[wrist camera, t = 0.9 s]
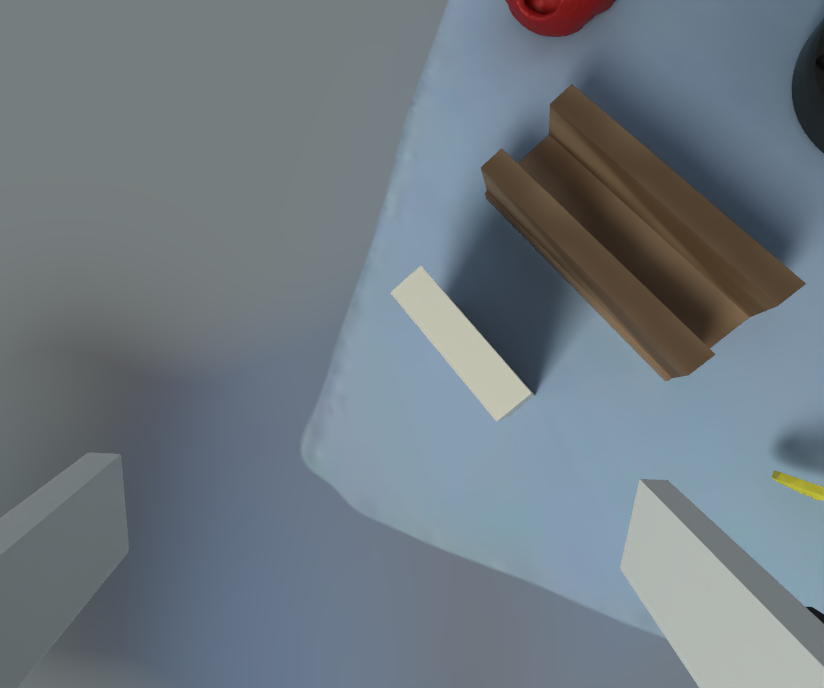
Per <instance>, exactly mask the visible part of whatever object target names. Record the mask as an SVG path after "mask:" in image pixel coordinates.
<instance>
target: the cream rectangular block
mask: <svg viewBox="0 0 824 688" xmlns="http://www.w3.org/2000/svg"><path fill="white" fill-rule="evenodd" d="M391 294H392V295H393V297H394V298H395V299H396V300H397V301H398V303H399V304H400V305H401V306H402V308H403V309H404V310H405V311H406V312H407V314H408V315H409V316H410V317H411V318H412V320H413V321H414V322H415V323H416V324H417V326H418V327H419V328H420V329H421V330H422V332H423V333H424V334H425V335H426V337H427V338H428V339H429V340H430V341H431V343H432V344H433V345H434V346H435V347H436V349H437V350H438V351H439V352H440V353H441V355H442V356H443V357H444V358H445V360H446V361H447V362H448V363H449V364H450V366H451V367H452V368H453V369H454V370H455V372H456V373H457V374H458V375H459V376H460V378H461V379H462V380H463V381H464V383H465V384H466V385H467V386H468V387H469V389H470V390H471V391H472V392H473V393H474V395H475V396H476V397H477V398H478V399H479V401H480V402H481V403H482V404H483V405H484V407H485V408H486V409H487V410H488V412H489V413H490V414H491V415H492V416H493V418H494V419H495V420H496V421H499V420H502V419H504V418H506V417H509V416H511V415H512V414H513V413H514V412H515V411H517V410H518V409H519V408H520V407H522V406H523V405H524V404H525V403H527V402H528V401H529V400H530V399H531V398H533V397H534V396H535V395H534V394H533V392H532V391H531V390H530V389H529V388H528V387H527V386H526V384H525V383H524V382H523V381H522V380H521V379H520V378H519V376H518V375H517V374H516V373H515V372H514V371H513V370H512V368H511V367H510V366H509V365H508V364H507V363H506V361H505V360H504V359H503V358H502V357H501V356H500V355H499V353H498V352H497V351H496V350H495V349H494V348H493V347H492V345H491V344H490V343H489V342H488V341H487V340H486V339H485V337H484V336H483V335H482V334H481V333H480V332H479V331H478V329H477V328H476V327H475V326H474V325H473V324H472V322H471V321H470V320H469V319H468V318H467V317H466V316H465V314H464V313H463V312H462V311H461V310H460V309H459V308H458V306H457V305H456V304H455V303H454V302H453V301H452V300H451V299H450V297H449V296H448V295H447V294H446V293H445V292H444V291H443V290H442V289H441V287H440V286H439V285H438V284H437V283H436V282H435V281H434V280H433V279H432V277H431V276H430V275H429V274H428V273H427V272H426V271H425V270H424V269H423V267H422V266H420V267H418V268H417V269H416V270H415V271H414V272H413V273H412V274H411V275H410V276H409V277H407V278H406V279H405V280H404V281H403V282H402V283H401V284H400V285H399V286H397V287H396V288H395V289H394V290H393V291H392V292H391Z"/></svg>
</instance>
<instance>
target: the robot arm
mask: <svg viewBox="0 0 824 688" xmlns="http://www.w3.org/2000/svg"><path fill="white" fill-rule="evenodd" d="M792 98H793V104H794V109H795V112H796V115H797V118H798V120H799V122H800V124H801V126H802V128H803V130H804V131H805V133H806V134H807V136H808V137H809V138H810V140H811V141H812V142H813V143H814V144H815V145H816V146H817V147H818V148H819V149H820V150H821V151H822V152H823V153H824V19H823V20H822V22H821V23H820V24H819V26H818V27H817V28H816V30H815V31H814V32H813V34H812V35H811V37H810V38H809V39H808V41H807V42H806V44H805V46H804V47H803V49H802V51H801V53H800V55H799V58H798V60H797V63H796V66H795V70H794V74H793V81H792ZM128 551H129V545H128V533H127V522H126V510H125V498H124V487H123V475H122V464H121V455H120V454H106V453H87V454H86V455H84V456H83V457H82V458H80V459H79V460H78V461H76V462H75V463H74V464H72V465H71V466H70V467H68V468H67V469H66V470H64V471H63V472H62V473H60V474H59V475H58V476H56V477H55V478H54V479H52V480H51V481H49V482H48V483H47V484H45V485H44V486H43V487H41V488H40V489H39V490H37V491H36V492H35V493H33V494H32V495H31V496H29V497H28V498H27V499H25V500H24V501H23V502H21V503H20V504H19V505H17V506H16V507H14V508H13V509H12V510H10V511H9V512H8V513H6V514H5V515H4V516H2V517H1V518H0V688H18V687H19V686H20V685H21V683H22V682H23V681H24V680H25V678H26V677H27V676H28V675H29V674H30V672H31V671H32V670H33V669H34V667H35V666H36V665H37V664H38V662H39V661H40V660H41V659H42V658H43V656H44V655H45V654H46V653H47V651H48V650H49V649H50V648H51V646H52V645H53V644H54V643H55V641H56V640H57V639H58V638H59V637H60V635H61V634H62V633H63V632H64V630H65V629H66V628H67V627H68V625H69V624H70V623H71V622H72V620H73V619H74V618H75V617H76V616H77V614H78V613H79V612H80V611H81V609H82V608H83V607H84V605H85V604H86V603H87V602H88V601H89V600H90V598H91V597H92V596H93V595H94V593H95V592H96V591H97V590H98V588H99V587H100V586H101V585H102V584H103V582H104V581H105V580H106V579H107V577H108V576H109V575H110V574H111V572H112V571H113V570H114V568H115V567H116V566H117V565H118V564H119V562H120V561H121V560H122V559H123V558H124V556H125V555H126V554H127V553H128ZM620 569H621V571H622V572H623V574H624V575H625V577H626V578H627V580H628V581H629V583H630V584H631V586H632V587H633V589H634V590H635V592H636V593H637V595H638V596H639V598H640V599H641V601H642V602H643V604H644V605H645V607H646V608H647V610H648V611H649V613H650V614H651V616H652V617H653V619H654V620H655V622H656V623H657V625H658V626H659V628H660V629H661V631H662V632H663V634H664V635H665V637H666V638H667V640H668V641H669V643H670V644H671V646H672V647H673V649H674V650H675V652H676V653H677V655H678V656H679V658H680V659H681V661H682V662H683V664H684V665H685V667H686V668H687V670H688V671H689V673H690V674H691V676H692V677H693V679H694V680H695V682H696V683H697V685H698V686H699V688H824V614H822V613H821V612H819V611H818V610H816V609H814V608H813V607H805V606H804V605H803V604H802V603H800V602H799V601H798V600H797V599H796V598H795V597H794V596H793V595H792V594H791V593H790V592H789V591H787V590H786V589H785V588H784V587H783V586H782V585H781V584H780V583H779V582H778V581H777V580H776V579H774V578H773V577H772V576H771V575H770V574H769V573H768V572H767V571H766V570H765V569H764V568H762V567H761V566H760V565H759V564H758V563H757V562H756V561H755V560H754V559H753V558H752V557H751V556H749V555H748V554H747V553H746V552H745V551H744V550H743V549H742V548H741V547H740V546H739V545H738V544H736V543H735V542H734V541H733V540H732V539H731V538H730V537H729V536H728V535H727V534H726V533H724V532H723V531H722V530H721V529H720V528H719V527H718V526H717V525H716V524H715V523H714V522H713V521H711V520H710V519H709V518H708V517H707V516H706V515H705V514H704V513H703V512H702V511H701V510H700V509H698V508H697V507H696V506H695V505H694V504H693V503H692V502H691V501H690V500H689V499H688V498H686V497H685V496H684V495H683V494H682V493H681V492H680V491H679V490H678V489H677V488H676V487H675V486H673V485H672V484H671V483H670V482H669V481H668V480H648V479H640V480H639V485H638V489H637V494H636V498H635V503H634V508H633V512H632V517H631V521H630V526H629V530H628V535H627V539H626V544H625V548H624V553H623V557H622V562H621V567H620Z"/></svg>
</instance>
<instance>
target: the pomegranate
mask: <svg viewBox="0 0 824 688" xmlns="http://www.w3.org/2000/svg"><path fill="white" fill-rule="evenodd" d="M614 1H615V0H506V2H507V3H508V5H509V8H510V11H511V13H512V14H513V16H514V17H515V18H516V19H517V20H518V21H519V22H520V23H521V24H522V25H523V26H524V27H526V28H527V29H528V30H530V31H532V32H534V33H536V34H539V35H543V36H553V37H561V36H567V35H570V34H573V33H575V32H577V31H579V30H580V29H581V28H582V27H583V26H584V25H585V24H586V23H587V22H588V21H589V20H590V19H591V18H593V17H594V16H595V15H597V14H600V13H602V12H604V11H606V10H608V9H609V8H610V7H611V5H612V4H613V2H614Z"/></svg>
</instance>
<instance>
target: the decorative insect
mask: <svg viewBox="0 0 824 688" xmlns="http://www.w3.org/2000/svg"><path fill="white" fill-rule="evenodd" d="M772 478H773V479H774V480H776V481H777V482H778V483H781V484H783V485H785V486H787V487H790V488H792V489H793V490H797V491H798V492H799V493H800V494H805V495H806V496H811V497H812V498H813V499H815V500H823V501H824V487H821V486H818V485H815V484H812V483H810V482H807V481H804V480H801V479H798V478H795V477H792V476H789V475H787V474H784V473H781V472H777V471H774V472H773V475H772Z"/></svg>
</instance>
